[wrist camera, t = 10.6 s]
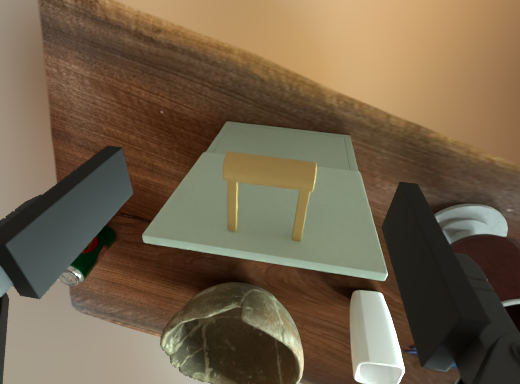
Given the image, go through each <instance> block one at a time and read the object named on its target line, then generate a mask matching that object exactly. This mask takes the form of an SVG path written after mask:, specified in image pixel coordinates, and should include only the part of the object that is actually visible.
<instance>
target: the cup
mask: <svg viewBox="0 0 520 384" xmlns="http://www.w3.org/2000/svg"><path fill="white" fill-rule="evenodd" d="M350 340H351V354H352V365H353V375H354V379H355V380H356V381H358V382H361V383H366V384H399V382H400V380H401V378H402V376H403V374H404V372H405V369H404V365H403V360H402V356H401V352H400V348H399V344H398V340H397V336H396V333H395V329H394V326H393V322H392V319H391V316H390V313H389V310H388V308H387V305H386V302H385V300H384V297H383V295H382V294H381V293H379V292H376V291H367V290H357V291H354V292H353V294H352V298H351V302H350Z"/></svg>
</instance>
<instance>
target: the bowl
mask: <svg viewBox="0 0 520 384" xmlns="http://www.w3.org/2000/svg"><path fill="white" fill-rule="evenodd" d="M160 345H161V348H162V350H163V351H165V352H166V354H167V355H168V356H170V360H171V364H173V366H174V367H178V368H179V371H180V372H181V373H183V374H184V375H185V376H189V377H191V378H194V379H197V380H199V381H202V382H208V383H210V384H298V383H299V381H300V379H301V377H302V372H303V365H304V357H303V349H302V345H301V341H300V337H299V333H298V330H297V328H296V325H295V323H294V321H293V320H292V318H291V316H290V314H289V313H288V311H287V310H286V309H285V307H284V306H283V305H282V304H281V303H280V302H279V301H277V300H276V298H275V297H274V296H273V295H272V294H271V293H269V292H268V291H266V290H265V289H263V288H260V287H258V286H255V285H252V284H248V283H240V282H229V283H222V284H218V285H215V286H212V287H210V288H207V289H205V290H203V291H201V292H200V293H198V294H197V295H196V296H194V297H193V298H192V299H191V300H190V301H189V302H188V303H187V304H186V305H185V306H184V308H183V309H181V310H180V311H179V312H177V313H176V314H175V315H174V316H173V317H172V319H171V320H170V321H169V322H168V324H167V325H166V327H165V329H164V330H163V333H162V336H161V342H160Z"/></svg>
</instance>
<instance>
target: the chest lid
mask: <svg viewBox="0 0 520 384" xmlns="http://www.w3.org/2000/svg"><path fill="white" fill-rule="evenodd" d="M142 238H143V242H144V243H150V244H156V245H162V246H169V247H175V248H181V249H187V250H194V251H200V252H206V253H212V254H219V255H225V256H231V257H237V258H243V259H250V260H256V261H262V262H268V263H275V264H281V265H287V266H293V267H300V268H306V269H312V270H318V271H325V272H331V273H337V274H343V275H350V276H356V277H362V278H368V279H375V280H381V281H385V279H386V277H387V274H388V273H387V269H386V265H385V262H384V258H383V254H382V251H381V247H380V243H379V240H378V236H377V232H376V229H375V225H374V221H373V218H372V214H371V210H370V207H369V203H368V199H367V196H366V192H365V188H364V185H363V181H362V177H361V174H360V172H358V171H350V170H342V169H334V168H327V167H319V166H317V163H316V162H310V161H302V160H294V159H286V158H278V157H270V156H262V155H254V154H246V153H238V152H230V151H228V152H227V153H226V155H224V154H216V153H208V152H203V153H202V155H201V156H200V158H199V159H198V160H197V162H196V163H195V164H194V166H193V167H192V168H191V170H190V171H189V172H188V174H187V175H186V176H185V178H184V179H183V180H182V182H181V183H180V184H179V186H178V187H177V188H176V190H175V191H174V193H173V194H172V195H171V197H170V198H169V199H168V201H167V202H166V203H165V205H164V206H163V207H162V209H161V210H160V211H159V213H158V214H157V215H156V217H155V218H154V219H153V221H152V222H151V223H150V225H149V226H148V227H147V229H146V230H145V232H144V233H143V234H142Z"/></svg>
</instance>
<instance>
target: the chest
mask: <svg viewBox="0 0 520 384" xmlns="http://www.w3.org/2000/svg"><path fill="white" fill-rule="evenodd" d="M228 151H230V152H238V153H246V154H254V155H262V156H270V157H278V158H286V159H294V160H302V161H310V162H316V163H317V166H319V167H327V168H334V169H342V170H350V171H358V168H357V164H356V160H355V155H354V151H353V147H352V143H351V139H350V135H342V134H333V133H325V132H316V131H307V130H299V129H290V128H281V127H273V126H264V125H255V124H246V123H238V122H229V121H227V122H226V123H225V125H224V126H223V128H222V129H221V131H220V132H219V133H218V135H217V136H216V138H215V139H214V141H213V142H212V144H211V145H210V147H209V148H208V150H207V151H206V152H208V153H216V154H224V155H226V153H227V152H228Z"/></svg>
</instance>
